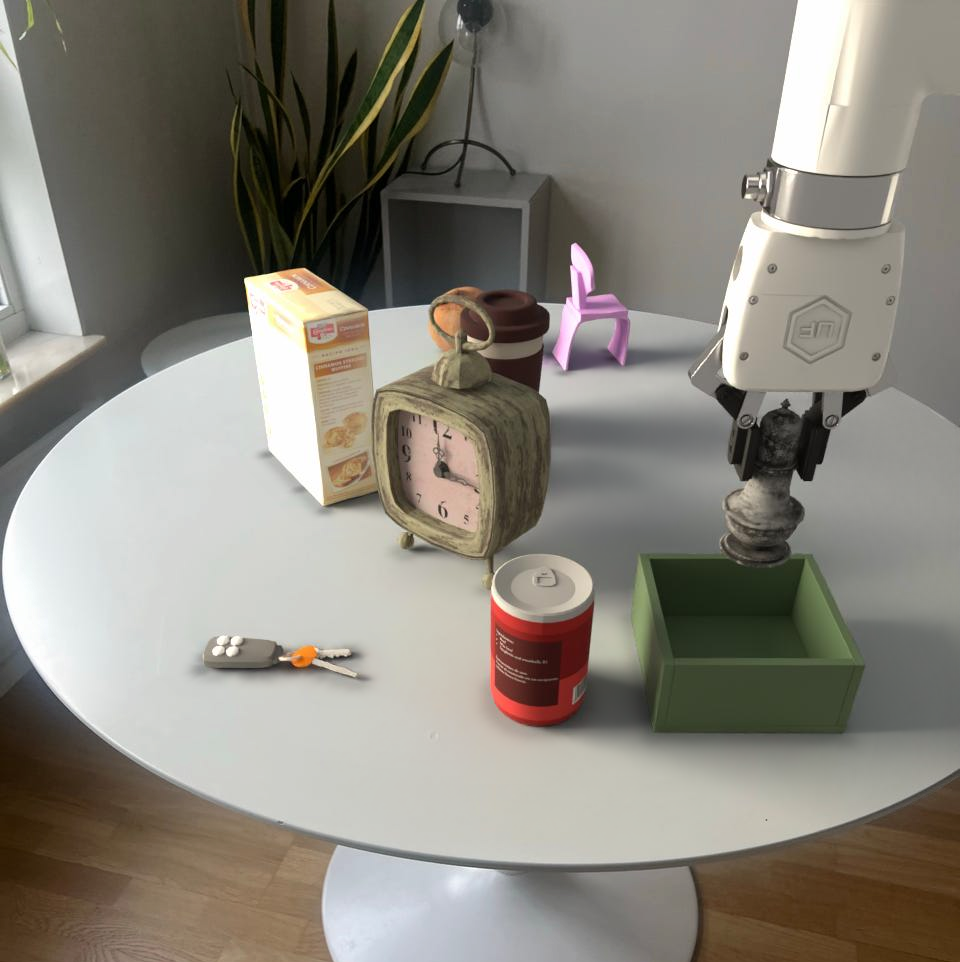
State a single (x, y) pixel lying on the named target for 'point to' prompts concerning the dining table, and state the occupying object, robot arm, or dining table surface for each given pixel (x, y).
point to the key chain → (265, 654)
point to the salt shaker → (766, 497)
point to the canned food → (540, 637)
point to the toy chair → (589, 311)
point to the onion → (451, 316)
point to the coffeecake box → (315, 381)
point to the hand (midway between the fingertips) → (771, 469)
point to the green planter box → (742, 646)
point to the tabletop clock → (461, 450)
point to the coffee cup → (510, 334)
